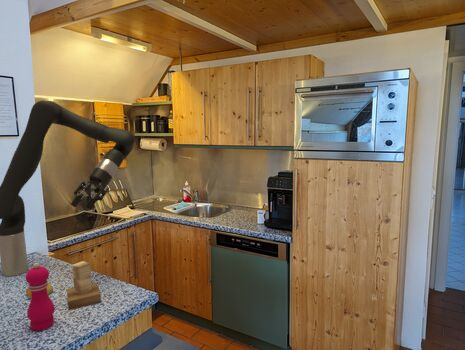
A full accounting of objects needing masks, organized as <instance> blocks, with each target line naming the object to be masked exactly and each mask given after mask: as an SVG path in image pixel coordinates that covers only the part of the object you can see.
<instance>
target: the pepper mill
mask: <svg viewBox="0 0 465 350" xmlns="http://www.w3.org/2000/svg"><path fill="white" fill-rule="evenodd" d="M49 277H50V272H49V270H48V268H47V267H44V266H43V265H42V266H41V264H40V263H39V262H34V263H33V265H32V268H30V269H28V270H27V271H26V274H25V281H26V282H27V284H28V287H29V290H30V291H31V299H30V302H29V305H28V308H27V313H26V314H27V315H26V316H27V319H29V321H30V322H29V326H30V329H31V330H32V331H38V332H39V331H43V330H45V329H48V328H50V327H51V326H52V325H53V324H54V323H55V319H54V317H55V316H54V315H53V314H54V313H55V311H56V310H55V305H54V302H53V300H52V299H51V298H50V296H49V295H48V294H47V286H48V283H49V282H48V278H49Z"/></svg>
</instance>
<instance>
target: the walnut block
mask: <svg viewBox="0 0 465 350" xmlns="http://www.w3.org/2000/svg"><path fill="white" fill-rule="evenodd" d="M91 284H92V290H91V291H89V292H87V293H85V294H83V295H80V294H77V293H75V292H74V287H69V288H66V297H67V305H68V311H70V310H74V309H79V308H83V307H86V306H87V307H88V306H92V305H96V304H99V303H102V298H101V296H102V295H101V292H100V288H99V286H98V283H97V282H96V281H95V282H91Z"/></svg>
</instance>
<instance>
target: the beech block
mask: <svg viewBox="0 0 465 350" xmlns="http://www.w3.org/2000/svg"><path fill="white" fill-rule="evenodd" d="M71 266H72V276H73V277H72V278H73V288H74V292H75V293H77V294H80V295H83V294H85V293H87V292H89V291H91V290H92V275H91V273H92V272H91V263H90V262H87V261H84V260H81V261H79V262H77V263H74V264H72V265H71Z"/></svg>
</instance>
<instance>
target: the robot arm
mask: <svg viewBox="0 0 465 350" xmlns="http://www.w3.org/2000/svg"><path fill="white" fill-rule="evenodd" d="M26 123H27V124H26V127H25V128H24V132H23V133H22V136H21V138H20V141H19V143H18V145H17V147H16V150H15V151H14V153H13V156H12V158H11V160H10V164H9V166H8V168H7V170H6V172H5V174H4V178H3V180H2V182H1V184H0V220H1V221H0V268H1V274H2V276H3V277H15V276H18V275H22V274H24V273H27V272H28V271H29V266H28V265H29V264H28V253H27V247H26V237H25V236H26V235H25V224H26V210H25V209H26V207H25V202H24V199H23V197H21V196H20V195H19V194H20V193H21V191H22V189H23V188H24V186H26V184H27V183H28V181H30V180H31V178H32V177H33V176H34V174H35V172H36V171H37V169H38V166H39V164H40V163H41V159H42V157H43V151H44V144H45V143H44V141H45V138H46V135H47V133H48V131H49V129H50V128H51V126H52V125H53V124H54V125H59V126H63V127H66V128H69V129H73V130H74V131H77V132H79V133H80V134H82V135H84V136H86V137H88V138H90V139H93V140H94V141H95V140H96V141H98V142H100V143H103V144H108V143H109V142H111V143H112V142H113V143H115V144H114V146H113V147H112V148H111V149H108V151H107V152H106V154H105V155H104V156H103V158H102V159H101V160H100V161H99V162H98V163H97V165H96V166H95V167H94V169H93V171H91V173H90V175H89V176H88V178H89V181H88V182H85V181H82V182H81V183H80V184H79V185H78V187H77V188H76V189H75V191H74V192H73V194H74V196H75V197H74V199H72V201H71V203H70V206H71V207H74V208H77V206H78V205H79V203H80V202H81V201H82V199H83V198H85V197H88V196H91V198H89V200H88V201H87V203H86V204H85V206H84V207H85V209H87V211H88V210H92V208H93V207H94V205H95V203H96V202H101V201H103V199H104V198H105V196H106V195H107V193H108V191H109V189H110V188H109V186H108V185H109V184H110V182H111V181H112V180H113V178H114V176H115V175H116V174H117V171H118V169H119V168H120V167H121V165H122V164H123V162H124V161H125V159H126V158H127V157H128V156H129V155H130V154H131V152H132V150H133V149H134V145H135V142H136V139H135V136H134V134H133V133H132V132H131V131H129V130H127V129H122V128H117V127H111V126H108V125H106V124H103V123H100V122H98V121H95V120H92V119H89V118H87V117H84V116H81V115H78V114H77V113H75V112H72V111H70V110H69V109H66V108H65V107H64V106H62V105H60V104H58V103H56V102H55V101H52V100H45V99H44V100H39V101H36V102H35V103H34V104H33V105H32V107H31V110H30V113H29V117H28V121H27V122H26Z"/></svg>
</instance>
